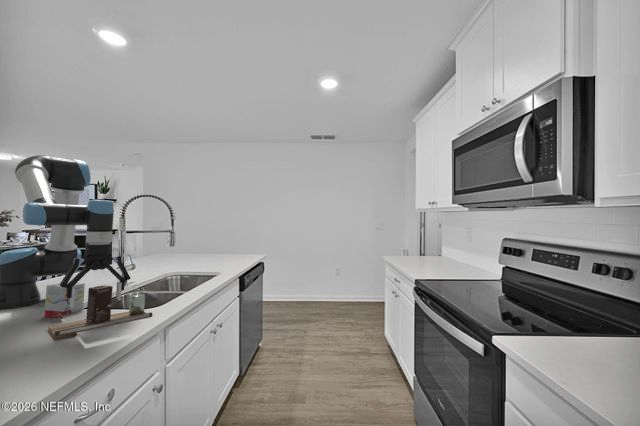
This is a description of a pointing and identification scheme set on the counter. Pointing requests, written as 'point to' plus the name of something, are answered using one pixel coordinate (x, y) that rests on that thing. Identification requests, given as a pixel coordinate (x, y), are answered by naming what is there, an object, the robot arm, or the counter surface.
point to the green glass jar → (136, 304)
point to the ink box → (62, 300)
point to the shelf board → (73, 327)
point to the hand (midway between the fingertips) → (96, 303)
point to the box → (99, 304)
